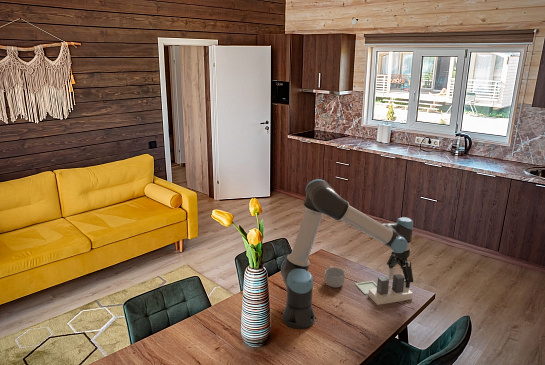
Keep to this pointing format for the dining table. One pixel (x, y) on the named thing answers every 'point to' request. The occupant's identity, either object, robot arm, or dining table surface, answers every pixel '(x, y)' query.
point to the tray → (366, 286)
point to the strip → (389, 296)
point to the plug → (398, 283)
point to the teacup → (334, 276)
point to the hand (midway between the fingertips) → (398, 285)
